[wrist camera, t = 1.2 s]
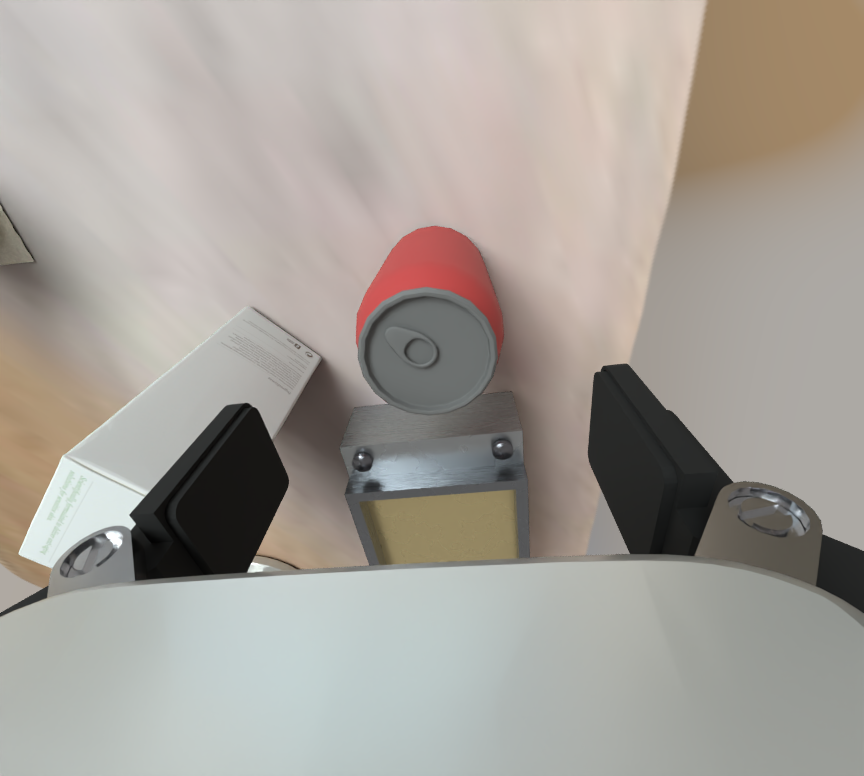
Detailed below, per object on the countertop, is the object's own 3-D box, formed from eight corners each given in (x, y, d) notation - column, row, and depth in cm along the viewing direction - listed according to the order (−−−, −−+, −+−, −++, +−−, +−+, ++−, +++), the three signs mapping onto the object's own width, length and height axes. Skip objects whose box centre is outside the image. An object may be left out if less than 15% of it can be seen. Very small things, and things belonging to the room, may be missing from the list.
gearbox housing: (518, 545, 39) (531, 611, 33) (396, 553, 40) (388, 618, 34) (511, 391, 30) (526, 446, 24) (354, 407, 31) (333, 463, 25)
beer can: (422, 200, 23) (402, 235, 13) (506, 266, 25) (547, 341, 15) (367, 289, 26) (314, 374, 16) (446, 342, 28) (445, 450, 18)
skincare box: (250, 302, 27) (56, 444, 14) (329, 359, 29) (229, 532, 16) (199, 380, 30) (2, 556, 17) (273, 426, 32) (151, 616, 19)
